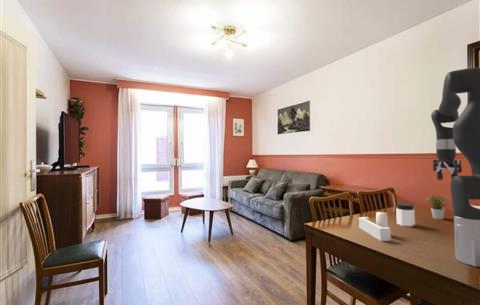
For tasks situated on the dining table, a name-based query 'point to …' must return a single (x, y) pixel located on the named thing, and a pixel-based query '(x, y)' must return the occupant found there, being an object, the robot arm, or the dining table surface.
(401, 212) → the jar
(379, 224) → the white pillar candle
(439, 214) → the house plant
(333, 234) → the dining table surface
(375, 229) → the stop rail
